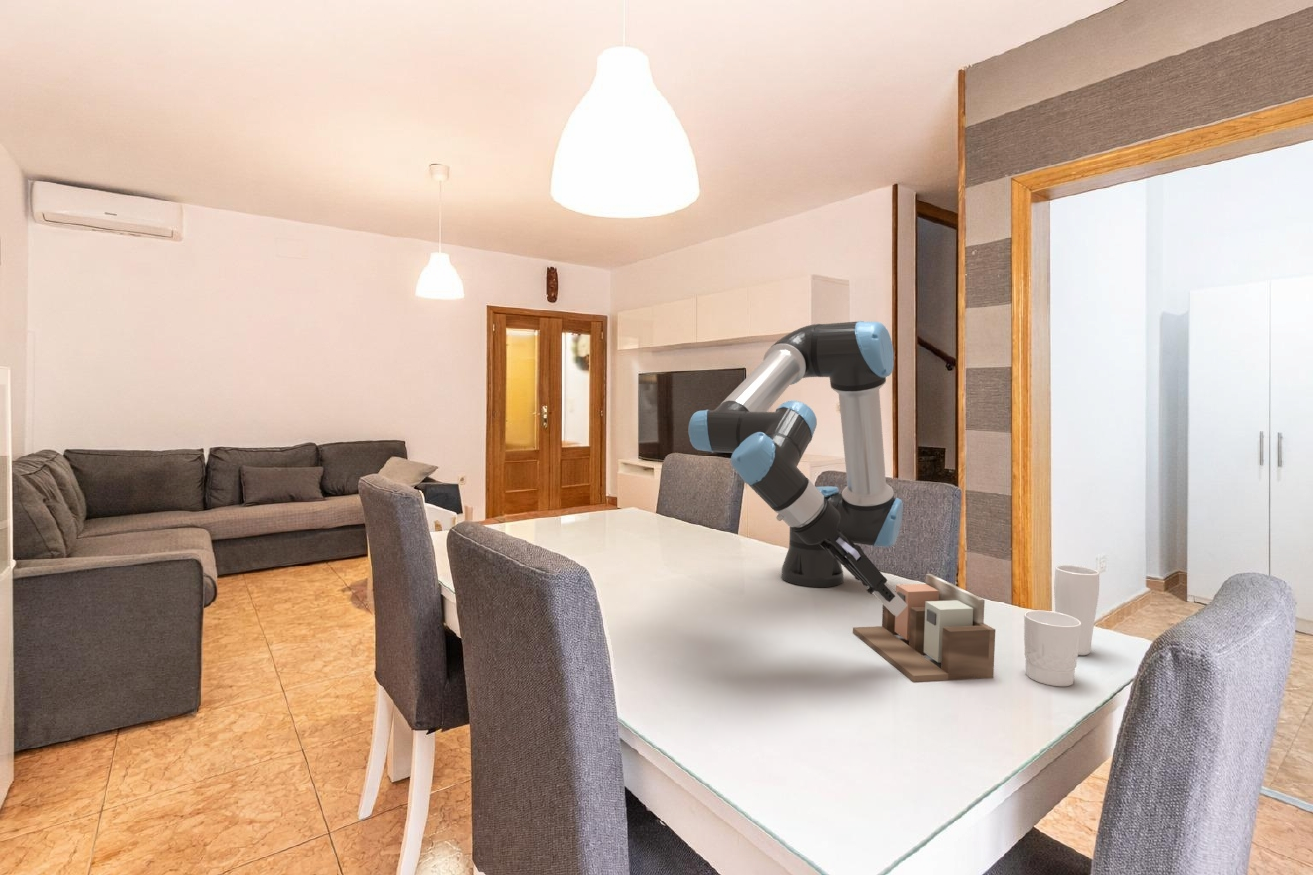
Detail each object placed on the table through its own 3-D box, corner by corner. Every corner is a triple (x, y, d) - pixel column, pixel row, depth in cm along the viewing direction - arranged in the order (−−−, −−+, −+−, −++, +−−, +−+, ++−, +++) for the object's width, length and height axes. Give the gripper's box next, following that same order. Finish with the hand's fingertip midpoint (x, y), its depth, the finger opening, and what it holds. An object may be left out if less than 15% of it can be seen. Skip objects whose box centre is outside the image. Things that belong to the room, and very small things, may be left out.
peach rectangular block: (893, 631, 122) (894, 584, 122) (924, 630, 123) (925, 583, 123) (905, 640, 118) (906, 591, 117) (937, 638, 119) (939, 590, 118)
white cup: (1086, 690, 101) (1090, 628, 100) (1031, 685, 102) (1034, 624, 102) (1065, 670, 109) (1068, 612, 108) (1014, 665, 110) (1017, 608, 110)
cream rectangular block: (922, 652, 112) (923, 601, 112) (955, 650, 113) (957, 600, 113) (936, 662, 108) (938, 609, 107) (971, 660, 109) (973, 608, 108)
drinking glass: (1056, 640, 122) (1060, 562, 121) (1099, 651, 117) (1103, 569, 116) (1046, 650, 117) (1050, 569, 116) (1090, 661, 112) (1094, 576, 111)
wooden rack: (852, 632, 125) (854, 571, 124) (920, 629, 127) (922, 569, 126) (913, 681, 103) (916, 608, 103) (993, 677, 105) (996, 605, 105)
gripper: (778, 521, 111) (866, 612, 114) (807, 538, 98) (905, 640, 102) (808, 490, 111) (895, 582, 115) (841, 503, 99) (937, 605, 102)
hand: (899, 609), depth 108 cm, fingers closed
